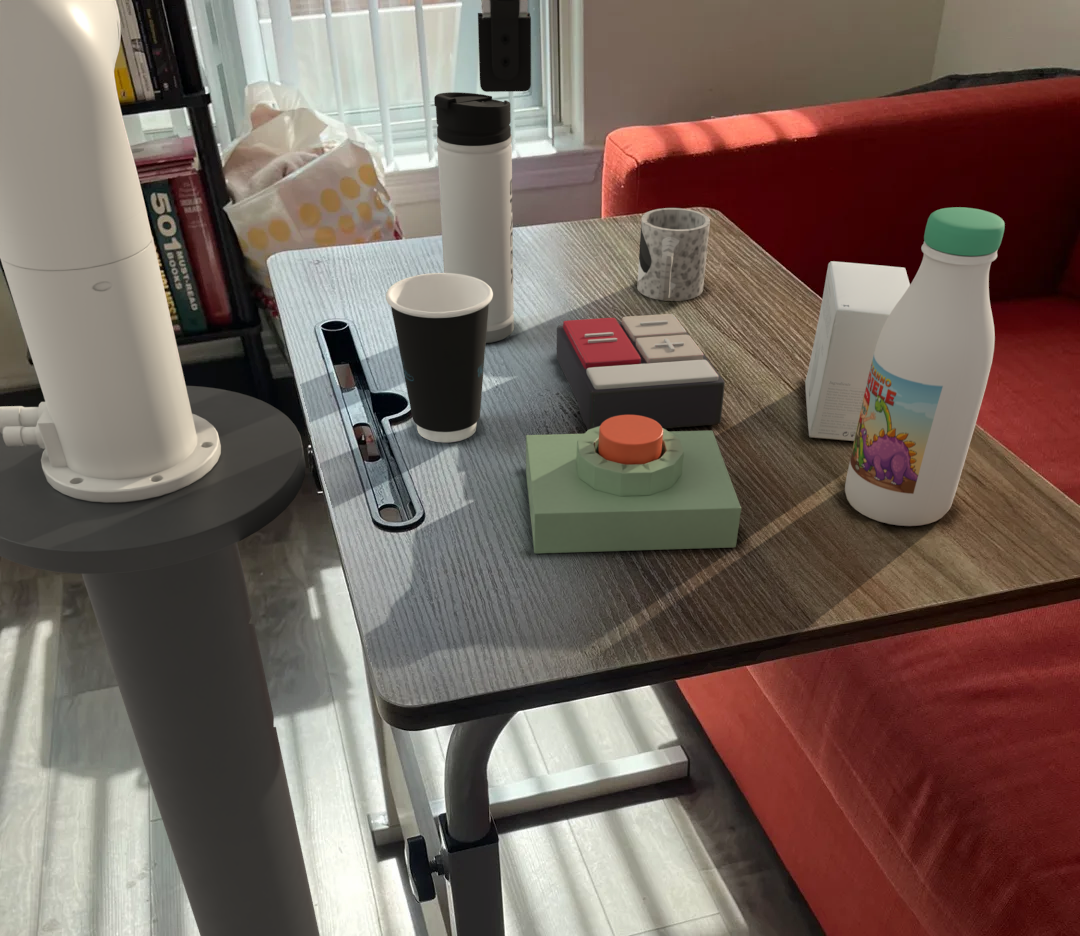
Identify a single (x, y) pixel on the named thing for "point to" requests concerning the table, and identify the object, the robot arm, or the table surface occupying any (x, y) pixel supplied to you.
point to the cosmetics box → (848, 343)
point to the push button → (630, 439)
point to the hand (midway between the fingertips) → (505, 87)
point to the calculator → (639, 371)
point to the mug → (672, 254)
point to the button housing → (629, 496)
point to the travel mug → (478, 197)
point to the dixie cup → (442, 350)
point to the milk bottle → (928, 376)
